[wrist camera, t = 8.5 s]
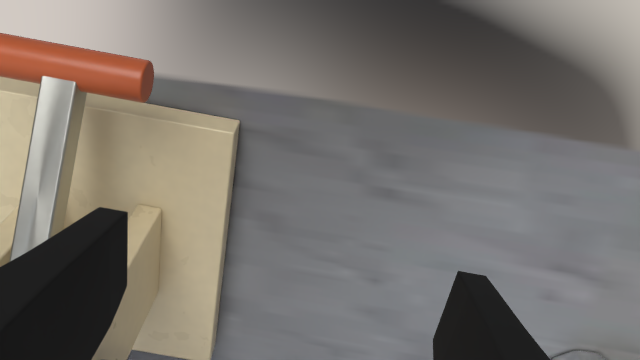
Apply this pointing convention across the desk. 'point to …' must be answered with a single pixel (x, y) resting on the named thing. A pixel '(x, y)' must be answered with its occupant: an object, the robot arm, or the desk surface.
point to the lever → (61, 121)
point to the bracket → (141, 210)
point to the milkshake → (579, 356)
